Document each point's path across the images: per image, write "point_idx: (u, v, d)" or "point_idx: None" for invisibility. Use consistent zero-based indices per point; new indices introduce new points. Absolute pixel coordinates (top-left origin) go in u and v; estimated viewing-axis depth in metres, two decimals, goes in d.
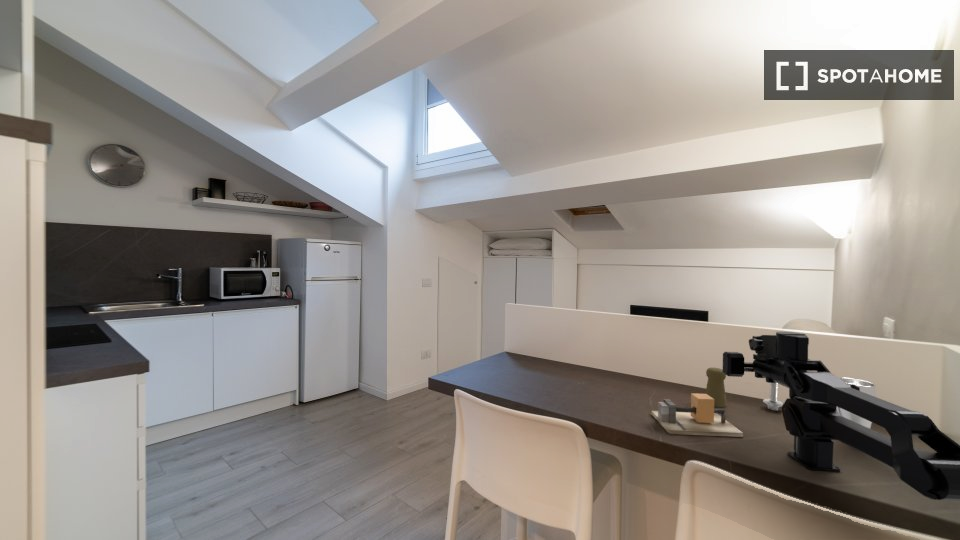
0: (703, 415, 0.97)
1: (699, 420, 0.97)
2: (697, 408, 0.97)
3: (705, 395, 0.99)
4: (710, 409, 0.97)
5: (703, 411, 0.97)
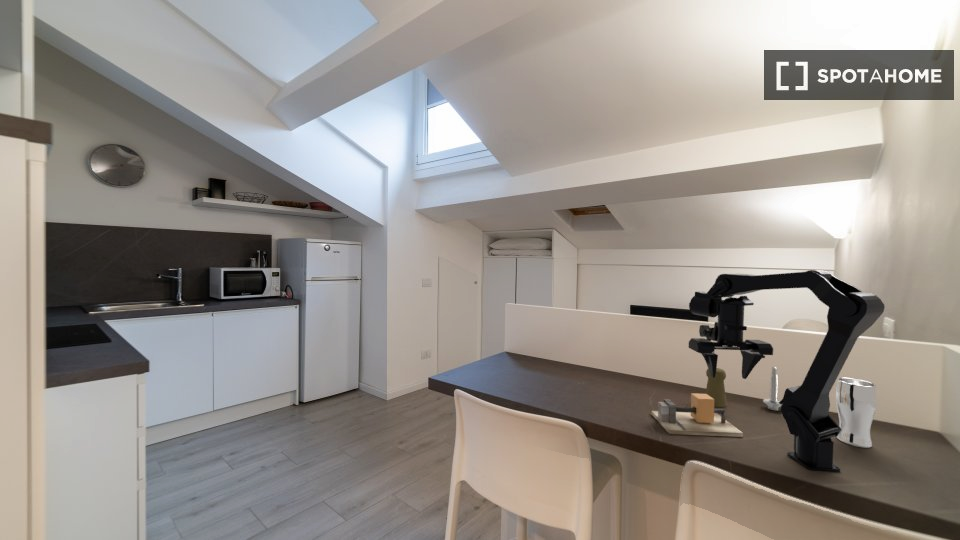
0: (703, 415, 0.97)
1: (699, 420, 0.97)
2: (697, 408, 0.97)
3: (705, 395, 0.99)
4: (710, 409, 0.97)
5: (703, 411, 0.97)
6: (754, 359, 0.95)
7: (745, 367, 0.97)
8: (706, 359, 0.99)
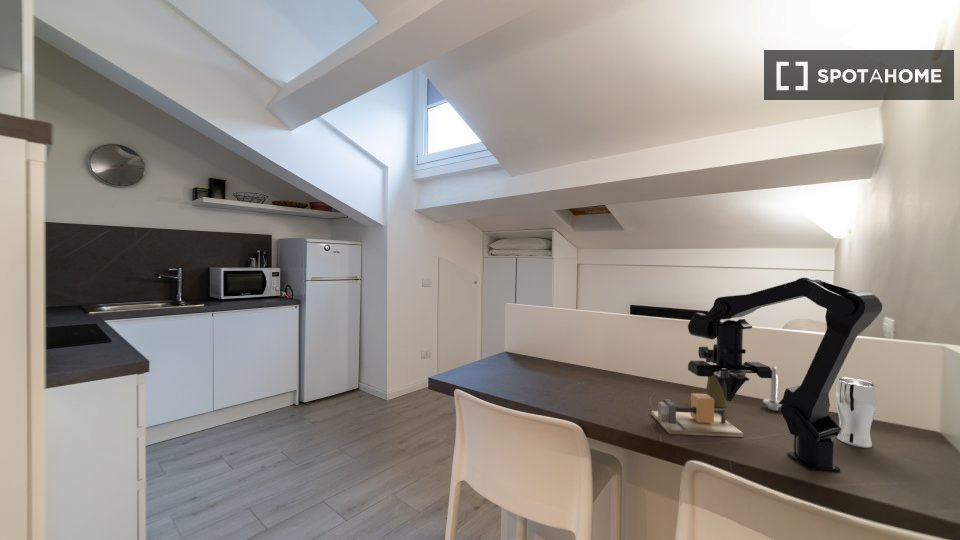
0: (703, 415, 0.97)
1: (699, 420, 0.97)
2: (697, 408, 0.97)
3: (705, 395, 0.99)
4: (710, 409, 0.97)
5: (703, 411, 0.97)
6: (738, 382, 0.95)
7: None
8: (720, 382, 0.99)
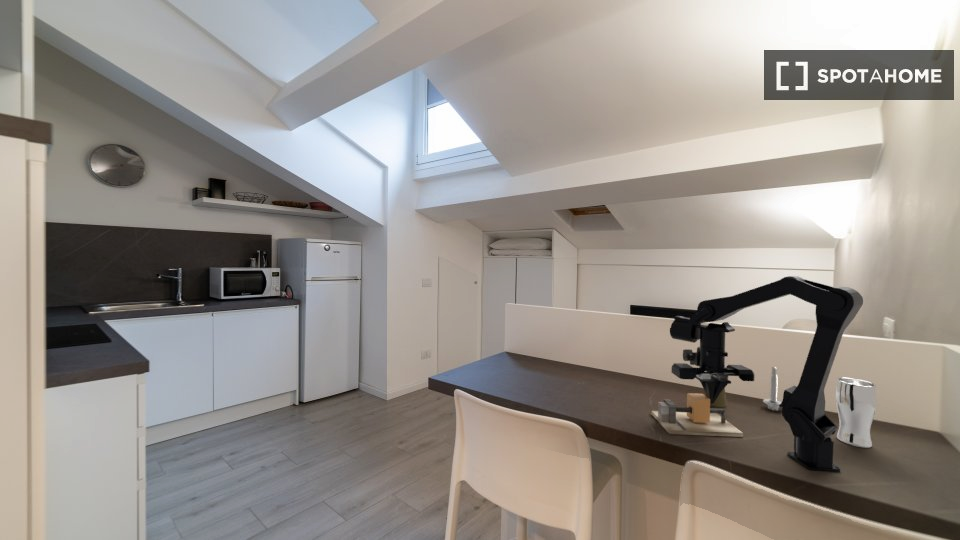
0: (699, 415, 0.97)
1: (695, 420, 0.97)
2: (693, 408, 0.98)
3: (701, 395, 0.99)
4: (706, 409, 0.97)
5: (699, 411, 0.97)
6: (720, 385, 0.96)
7: None
8: (703, 385, 0.99)
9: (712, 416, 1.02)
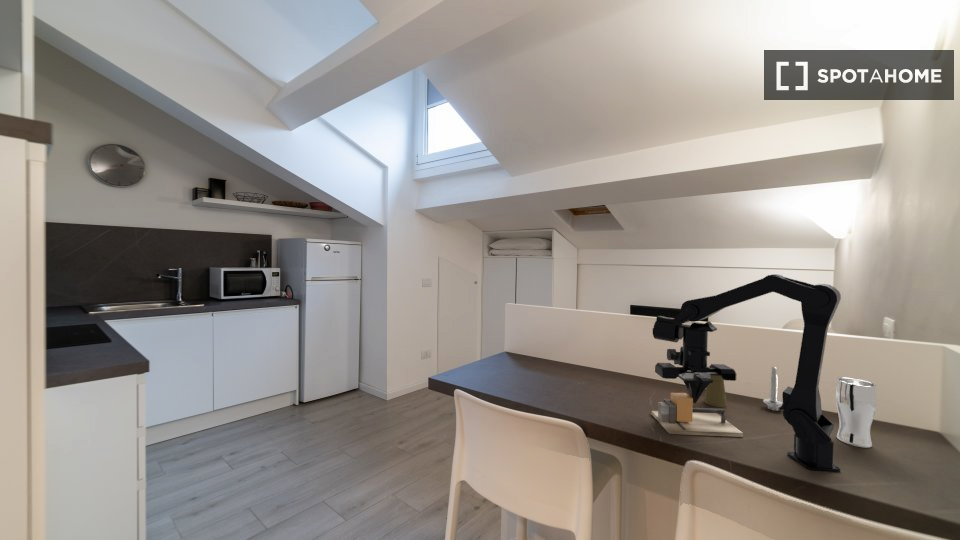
0: (682, 414, 0.97)
1: (678, 419, 0.98)
2: (676, 407, 0.98)
3: (684, 394, 1.00)
4: (689, 408, 0.97)
5: (682, 411, 0.97)
6: (703, 384, 0.96)
7: None
8: (686, 384, 1.00)
9: (712, 416, 1.02)
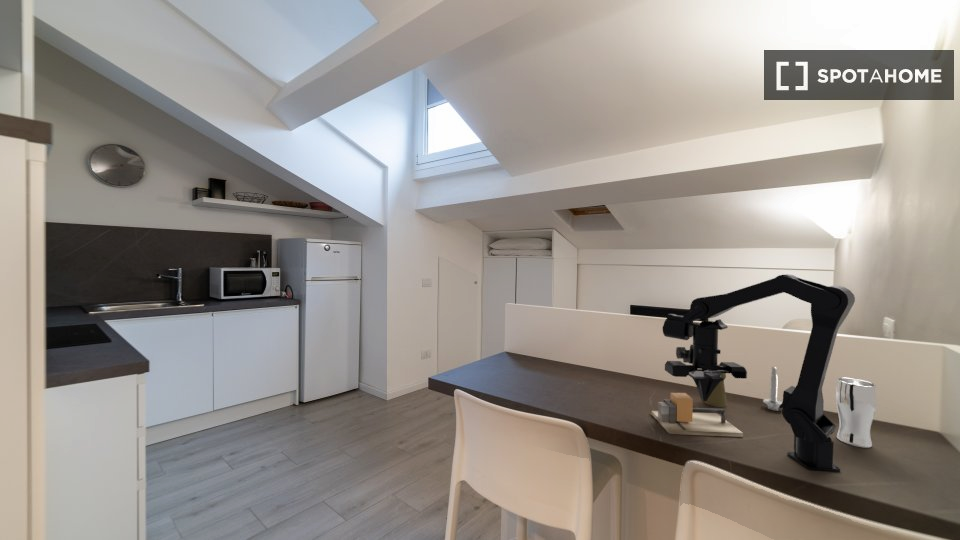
0: (681, 414, 0.97)
1: (678, 419, 0.98)
2: (676, 407, 0.98)
3: (684, 394, 1.00)
4: (689, 408, 0.97)
5: (682, 411, 0.97)
6: (713, 382, 0.96)
7: None
8: (696, 382, 1.00)
9: (712, 416, 1.02)
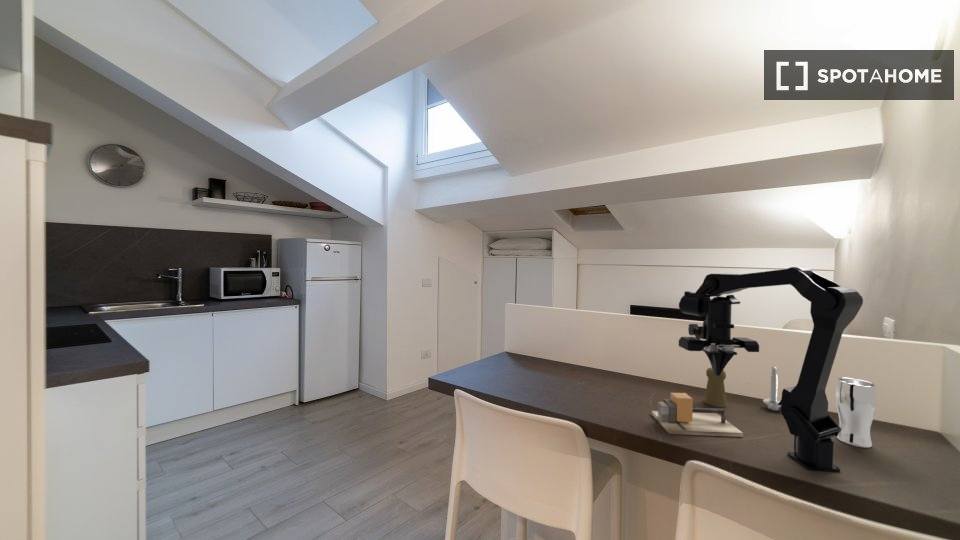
0: (681, 414, 0.97)
1: (678, 419, 0.98)
2: (676, 407, 0.98)
3: (684, 394, 1.00)
4: (689, 408, 0.97)
5: (682, 411, 0.97)
6: (727, 356, 0.98)
7: None
8: (709, 357, 1.02)
9: (712, 416, 1.02)
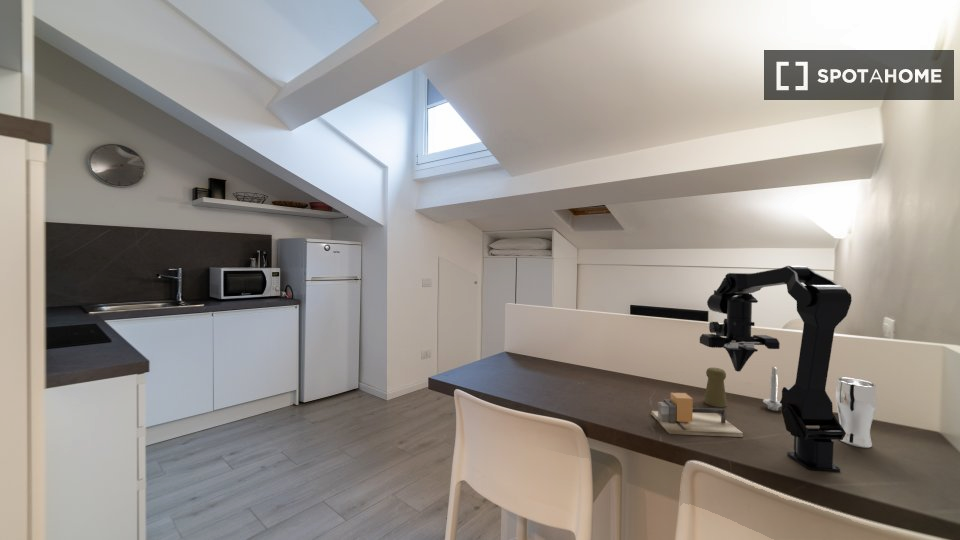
0: (681, 414, 0.97)
1: (678, 419, 0.98)
2: (676, 407, 0.98)
3: (684, 394, 1.00)
4: (689, 408, 0.97)
5: (682, 411, 0.97)
6: (748, 353, 1.02)
7: None
8: (730, 354, 1.05)
9: (712, 416, 1.02)
